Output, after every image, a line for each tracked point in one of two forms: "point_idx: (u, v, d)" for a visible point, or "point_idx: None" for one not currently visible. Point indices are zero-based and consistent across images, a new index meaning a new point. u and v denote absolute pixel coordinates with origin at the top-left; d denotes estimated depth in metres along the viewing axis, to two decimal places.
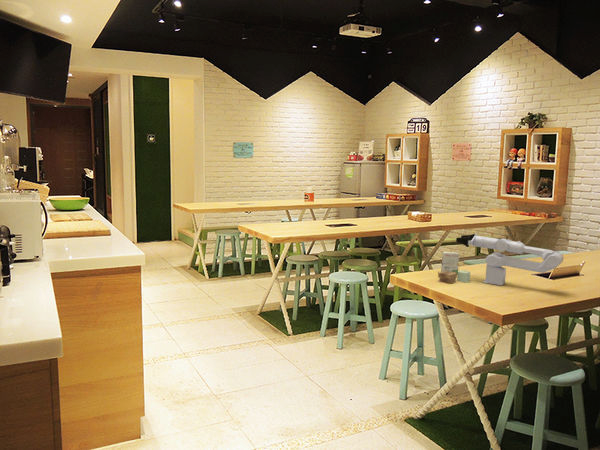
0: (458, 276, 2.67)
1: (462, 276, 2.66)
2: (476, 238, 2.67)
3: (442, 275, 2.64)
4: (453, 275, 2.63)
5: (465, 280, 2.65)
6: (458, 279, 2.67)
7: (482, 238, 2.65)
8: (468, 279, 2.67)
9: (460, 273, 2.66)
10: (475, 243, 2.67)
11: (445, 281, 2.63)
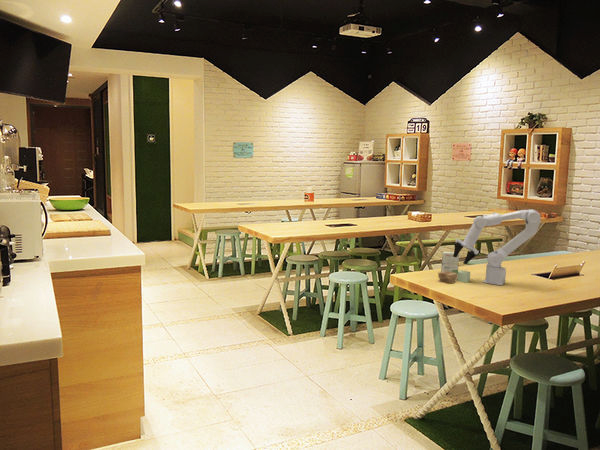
0: (458, 276, 2.67)
1: (462, 276, 2.66)
2: (469, 244, 2.64)
3: (442, 275, 2.64)
4: (453, 275, 2.63)
5: (465, 280, 2.65)
6: (458, 279, 2.67)
7: (471, 239, 2.64)
8: (468, 279, 2.67)
9: (460, 273, 2.66)
10: None
11: (445, 281, 2.63)
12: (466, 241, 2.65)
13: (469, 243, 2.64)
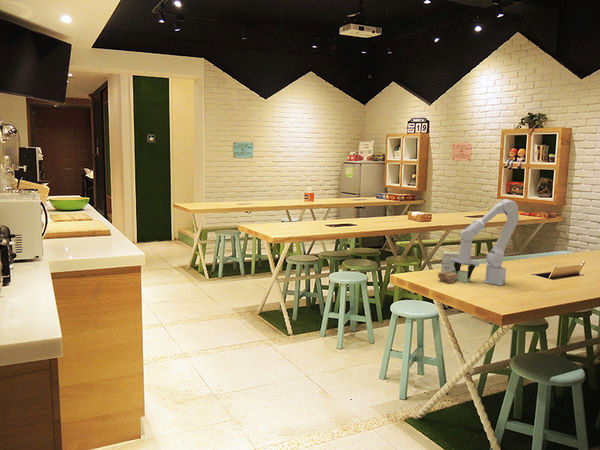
0: (458, 276, 2.67)
1: (462, 276, 2.66)
2: (467, 260, 2.64)
3: (441, 275, 2.64)
4: (453, 275, 2.63)
5: (465, 280, 2.65)
6: (458, 279, 2.67)
7: (467, 254, 2.64)
8: (468, 279, 2.67)
9: (460, 273, 2.66)
10: (470, 260, 2.66)
11: (445, 281, 2.63)
12: (463, 258, 2.64)
13: (467, 259, 2.64)
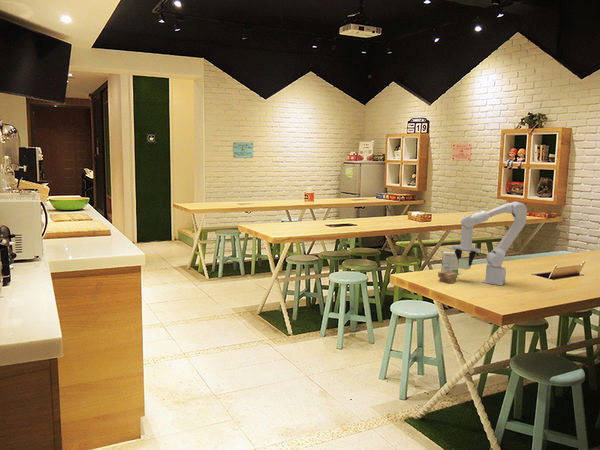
0: (459, 263, 2.66)
1: (463, 263, 2.65)
2: (468, 247, 2.63)
3: (441, 274, 2.65)
4: (453, 275, 2.63)
5: (466, 267, 2.64)
6: (459, 266, 2.66)
7: (468, 241, 2.63)
8: (469, 266, 2.66)
9: (461, 260, 2.65)
10: (471, 246, 2.65)
11: (445, 281, 2.63)
12: (464, 245, 2.63)
13: (468, 245, 2.63)
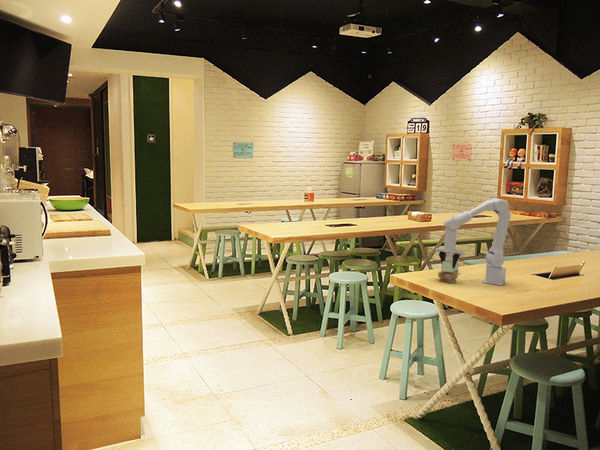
0: (443, 266, 2.64)
1: (447, 265, 2.63)
2: (452, 249, 2.61)
3: (441, 275, 2.65)
4: (453, 275, 2.63)
5: (450, 270, 2.62)
6: (443, 269, 2.64)
7: (451, 243, 2.61)
8: (453, 269, 2.64)
9: (445, 262, 2.63)
10: None
11: (445, 281, 2.63)
12: (448, 247, 2.61)
13: (452, 248, 2.61)
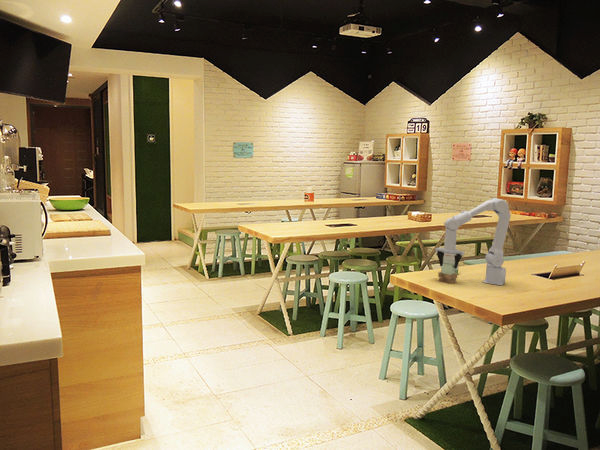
0: (443, 268, 2.64)
1: (447, 268, 2.63)
2: (452, 249, 2.61)
3: (441, 275, 2.65)
4: (453, 275, 2.63)
5: (450, 272, 2.62)
6: (443, 271, 2.64)
7: (451, 243, 2.61)
8: (453, 271, 2.64)
9: (445, 265, 2.63)
10: None
11: (445, 281, 2.63)
12: (448, 247, 2.61)
13: (452, 248, 2.61)
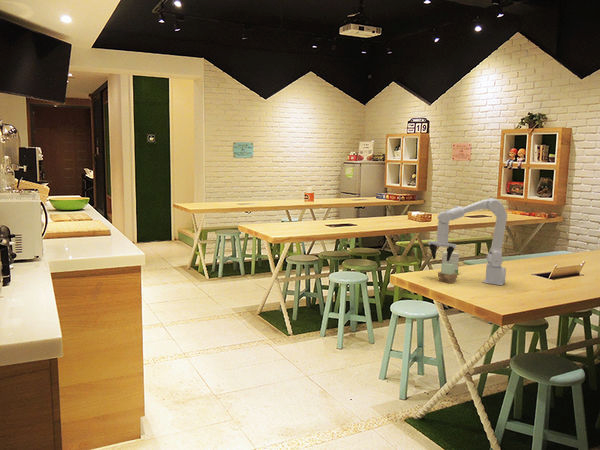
0: (442, 268, 2.65)
1: (446, 268, 2.63)
2: (444, 242, 2.65)
3: (441, 275, 2.65)
4: (452, 275, 2.63)
5: (449, 272, 2.62)
6: (442, 271, 2.65)
7: (444, 236, 2.65)
8: (452, 271, 2.64)
9: (444, 265, 2.64)
10: (447, 242, 2.67)
11: (445, 281, 2.64)
12: (440, 240, 2.65)
13: (444, 241, 2.65)
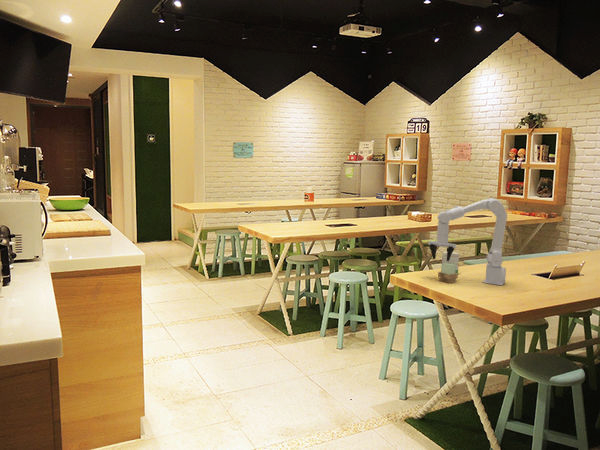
0: (442, 268, 2.65)
1: (446, 268, 2.63)
2: (444, 242, 2.65)
3: (441, 274, 2.65)
4: (452, 275, 2.63)
5: (449, 272, 2.62)
6: (442, 271, 2.65)
7: (444, 236, 2.65)
8: (453, 271, 2.64)
9: (444, 265, 2.64)
10: (447, 242, 2.67)
11: (445, 281, 2.64)
12: (440, 240, 2.65)
13: (444, 241, 2.65)
